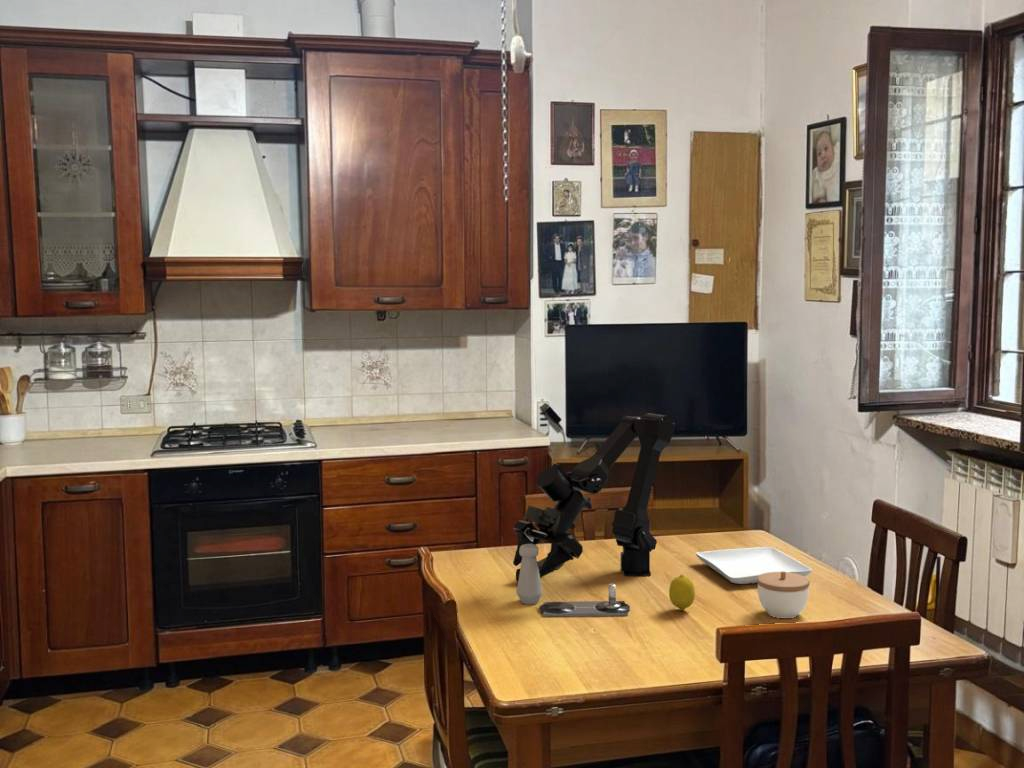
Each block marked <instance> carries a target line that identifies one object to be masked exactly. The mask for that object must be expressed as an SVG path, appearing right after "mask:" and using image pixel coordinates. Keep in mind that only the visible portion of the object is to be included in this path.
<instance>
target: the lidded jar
mask: <svg viewBox="0 0 1024 768" xmlns="http://www.w3.org/2000/svg"><path fill="white" fill-rule="evenodd" d="M756 584H757V595H758V600H759V602H760V605H761V607H762V608H763V609H764V611H766V612H767V615H768V614H769V615H768V616H770V615H771V616H774V617H777V618H776V619H779V618H792V619H795V618H797V617H798V615H800V614H801V612H802V611H803V610H804V609H805V607H806V605H807V604H808V603H807V602H808V598H809V592H810V591H809V589H810V588H809V587H810V580H809V579H808V578H807V577H806V576H802V575H799V574H795V573H789V572H785V571H781V572H769V573H764V574H761V575H759V576H758V578H757V583H756ZM771 616H770V617H771ZM796 616H797V617H796ZM774 617H773V618H774ZM794 617H795V618H794Z"/></svg>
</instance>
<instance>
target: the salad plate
mask: <svg viewBox="0 0 1024 768" xmlns="http://www.w3.org/2000/svg"><path fill="white" fill-rule="evenodd" d="M695 556H696V558H698V559H699V560H700V561H701V562H703V564H705V565H706V566H708V567H710V568H711V569H713V570H714V571H715V572H716V573H718V574H720V575H721V576H722V577H724V578H726V580H728V581H729V582H731V583H733V584H736V585H750V584H749V583H752V584H758V583H757V578H758V576H759V575H761V574H764V573H769V572H781V571H785V572H789V573H795V574H799V575H802V576H804V577H806V576H808V575H810V574H812V572H813V568H811V567H809V566H807V565H805V564H803V562H800V561H798V560H797V559H795V558H793V557H792V556H790V555H788V554H785V552H783V551H780V550H779V549H777V548H775V547H773V546H772V547H771V546H760V547H744V548H729V549H728V548H727V549H715V550H708V551H697V552H695Z"/></svg>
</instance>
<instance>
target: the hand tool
mask: <svg viewBox="0 0 1024 768" xmlns="http://www.w3.org/2000/svg"><path fill="white" fill-rule="evenodd" d="M549 553H550V551H549V552H548V553H547V556H548V555H549ZM547 556H546V557H543V558H542V559H540V560H537V564H538V569H539V571H540V569H541V567H542V565H543V563H544V562H545V560H546V558H547ZM564 565H565V563H563V564H561V565H559V566H557V567H556V568H554V569H552V570H551V571H553V570H556V571H558V570H561V568H562V567H563V566H564ZM519 574H520V568H517V569H516V570H515V580H516V582H517V583H518V581H519ZM539 575H540V577H541V576H542V575H541V574H540V573H539Z"/></svg>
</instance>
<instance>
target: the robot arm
mask: <svg viewBox="0 0 1024 768" xmlns="http://www.w3.org/2000/svg"><path fill="white" fill-rule="evenodd" d="M675 426H676V425H675V423H674V420H673V419H672V417H671V416H669V415H665V414H657V413H650V412H647V413H645V414H644V415H642V416H629V415H626V416H623V417H622V418H621V419H620V421H619V424H618V426H616V427H615V429H614V430H613V431H612V432H611V433H610V435H609V436H608V437H607V438H606V440H605V441H604V442H603V444H601V446H600V447H599V448H598V449H597V450H596V452H595V453H594V454H593V455H592V456H590V457H587V458H586V459H583V460H582V461H580V462H579V463H578V464H577V465H575V467H573V469H572V470H571V471H568V472H566V470H564V468H563V466H562V465H561V464H559V463H553V464H552V466H549V467H547V468H546V469H544V470H543V471H542V472H540V473H539V474H538V475H537V477H536V481H535V482H536V485H537V486H538V488H540V489H541V491H543V493H544V494H545V495H546V496H547V497H548V498H549V499H550V500H551V501H552V502H556V503H555V505H554V506H553V507H548V506H547V507H546V508H545V509H543V508H542V509H541V508H539V507H534V506H531V505H527V508H526V510H525V514H524V517H523V519H522V520H520V519H519V520H517V521H516V523H515V524H514V526H513V530H514V532H515V534H516V535H517V540H518V542H517V546H516V549H515V555H514V559H513V561H512V563H513V565H514V566H515V567H517V566H519V565H521V562H522V556H520V554H519V549H520V546H521V545H524V544H534V545H536V546H537V545H538V544H539V543H541V541H542V542H546V543H549V544H550V551H549V552H550V553H549V552H548V553H549V555H548V556H546V557H547V558H546V557H545V558H546V560H545V562H544V563H543V565H542V567H541V569H540V571H539V573H540V574H541V576H544V575H545V574H547V573H549V572H550V571H553V570H552V569H554V568H556V567H557V566H559V565H561V564H563V563H564V564H565V563H566V562H568V561H574V559H580V556H581V555H582V554H583V550H584V549H583V548H584V547H583V545H582V544H581V543H580V542H579V541H578V540H577V539H576V537H574V535H573V534H569V533H568V532H569V530H570V529H571V530H575V528H576V527H577V526H576V525H575V521H576V520H577V518H578V516H579V515H580V513H581V511H583V509H586V510H589V511H590V510H593V507H592V506H593V505H592V501H591V497H589V496H585V495H584V494H583V493H587V494H592V495H593V494H594V495H595V494H598V493H600V492H601V491H602V489H603V488H604V486H605V484H606V483H607V481H608V479H609V473H610V470H611V468H612V466H614V464H615V463H616V462H617V460H618V459H619V458H620V457H621V456H622V455H623V453H624V452H625V451H626V449H627V448H628V447H629V446H630V445H631V443H632V442H633V441H634V440H635V439H636V437H637V438H638V442H639V446H640V448H639V449H640V450H639V453H638V456H637V457H638V458H637V461H636V465H635V470H634V473H633V477H632V481H631V484H630V490H629V492H628V497H627V500H626V504H625V505H624V507H622V508H621V509H616V510H615V511H614V517H613V518H614V519H613V521H612V523H611V526H612V531H611V532H612V533H611V534H613V537H614V538H615V542H616V545H617V546H618V547H622V551H621V552H620V557H619V558H620V560H619V561H620V571H621V572H622V574H623V576H625V577H626V576H629V577H631V576H634V577H635V576H636V577H637V576H651V575H652V572H651V569H650V568H651V565H650V564H651V563H650V562H651V561H650V560H651V559H650V558H651V553H650V552H652V551H654V550H655V549H656V547H657V543H658V541H657V539H656V538H655V537H654V536H653V534H651V532H650V531H649V529H650V519H649V515H648V511H647V509H648V504H649V501H650V497H651V493H652V488H653V485H654V480H655V477H656V474H657V469H658V464H659V461H660V457H661V454H662V452H663V450H665V449H666V448H667V446H668V445H669V444H670V442H671V440H672V437H673V435H674V432H675V429H676V427H675ZM582 492H583V493H582ZM529 521H530V522H529ZM532 522H533V523H534V524H533V523H532ZM537 528H538V529H537ZM564 564H563V565H564Z"/></svg>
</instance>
